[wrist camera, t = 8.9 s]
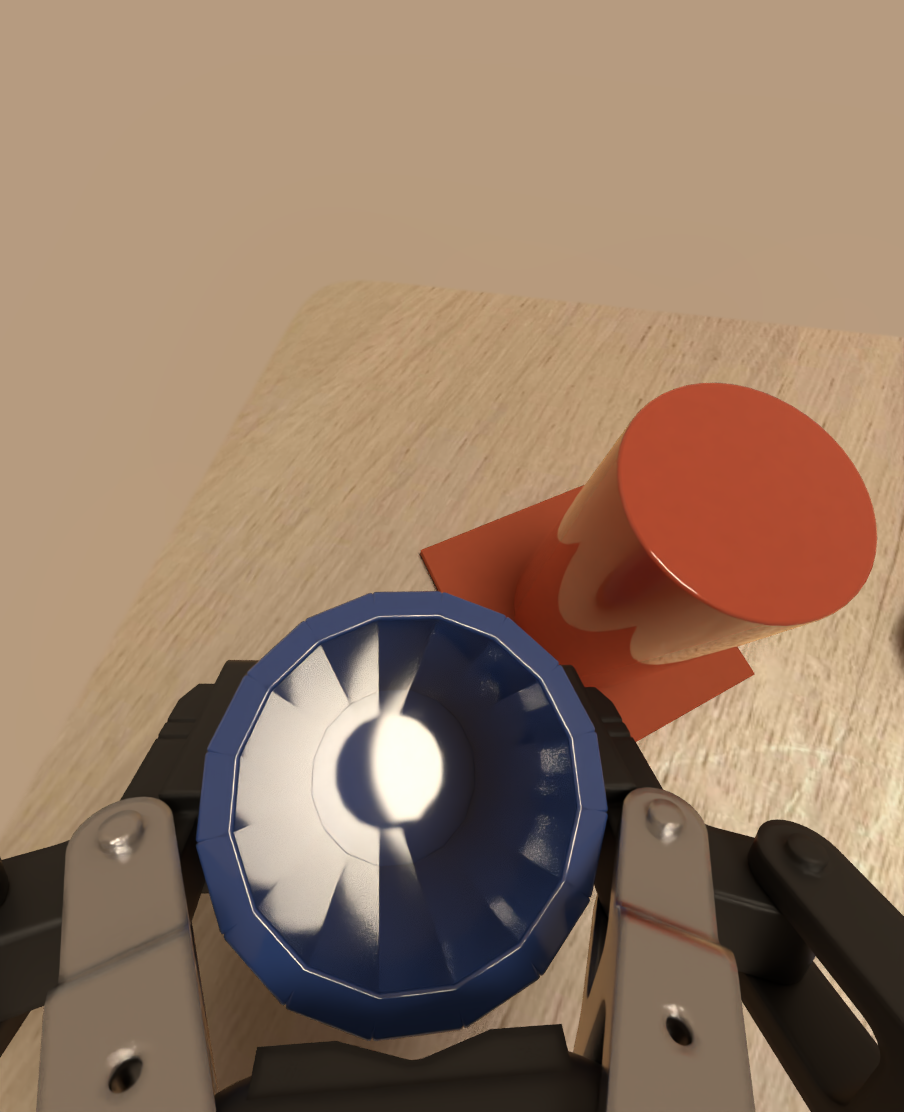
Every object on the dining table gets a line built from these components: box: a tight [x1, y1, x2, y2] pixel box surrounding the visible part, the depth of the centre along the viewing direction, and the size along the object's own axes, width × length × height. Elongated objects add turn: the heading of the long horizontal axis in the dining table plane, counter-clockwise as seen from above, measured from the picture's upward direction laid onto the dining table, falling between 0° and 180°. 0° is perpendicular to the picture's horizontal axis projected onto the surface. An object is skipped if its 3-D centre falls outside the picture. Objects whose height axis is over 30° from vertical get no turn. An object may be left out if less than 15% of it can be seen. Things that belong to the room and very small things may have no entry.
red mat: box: [420, 485, 754, 742], centre depth 21 cm, size 10×10×1 cm
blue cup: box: [196, 591, 608, 1041], centre depth 12 cm, size 6×6×10 cm
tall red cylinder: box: [514, 383, 877, 688], centre depth 16 cm, size 6×6×10 cm
